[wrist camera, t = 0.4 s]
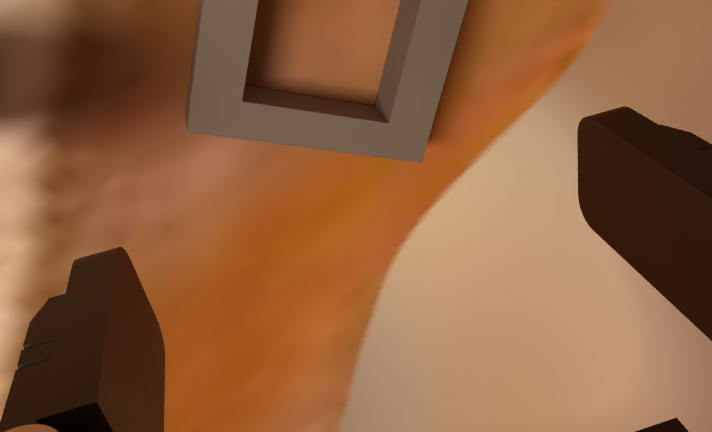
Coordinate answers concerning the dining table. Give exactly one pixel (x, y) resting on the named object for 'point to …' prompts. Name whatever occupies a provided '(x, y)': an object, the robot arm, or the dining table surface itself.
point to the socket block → (314, 114)
